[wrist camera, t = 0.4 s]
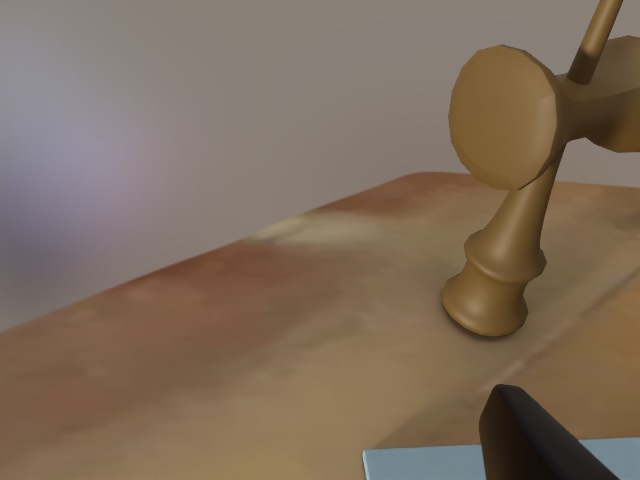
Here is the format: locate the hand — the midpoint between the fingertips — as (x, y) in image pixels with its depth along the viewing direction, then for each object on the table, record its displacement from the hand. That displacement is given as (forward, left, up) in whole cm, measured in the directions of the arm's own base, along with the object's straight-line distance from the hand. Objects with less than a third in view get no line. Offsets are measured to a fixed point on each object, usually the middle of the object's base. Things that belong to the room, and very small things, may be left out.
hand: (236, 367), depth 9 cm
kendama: (+16, -15, -16) cm, 27 cm away
